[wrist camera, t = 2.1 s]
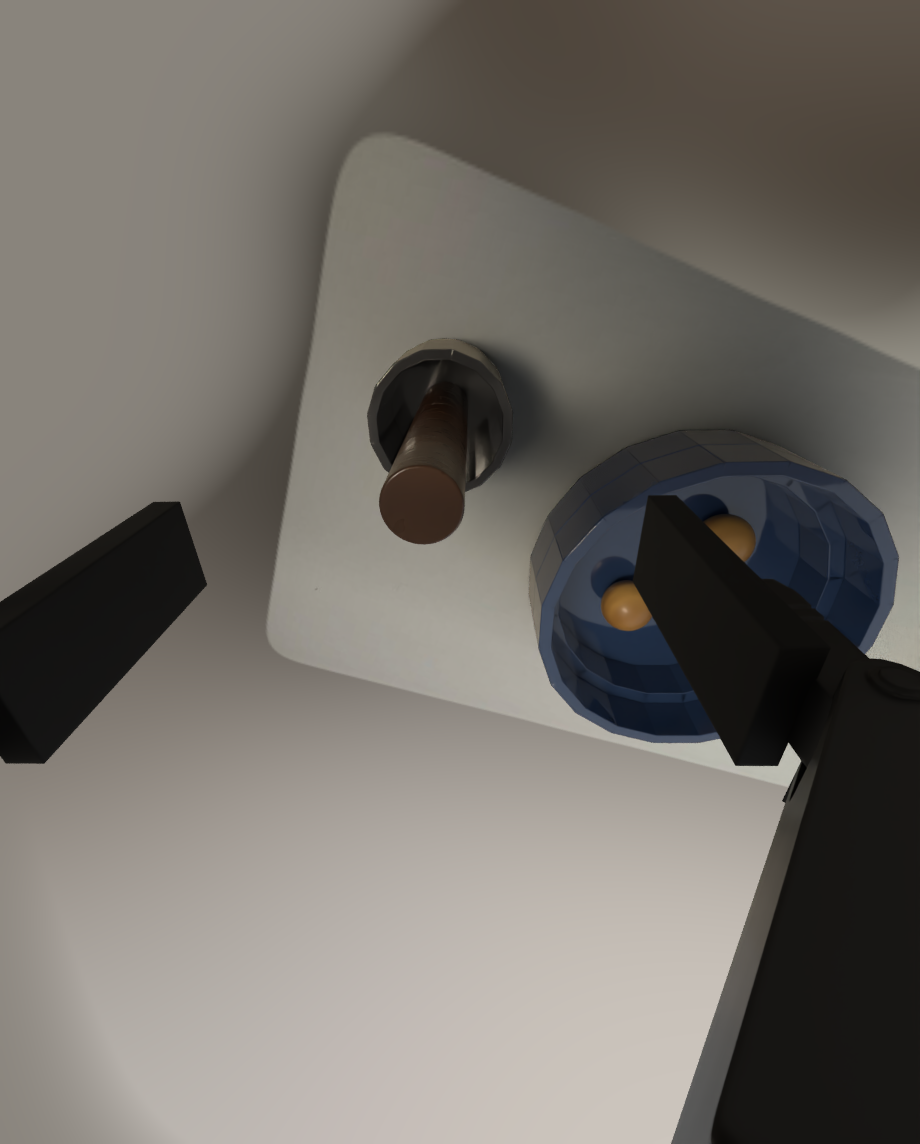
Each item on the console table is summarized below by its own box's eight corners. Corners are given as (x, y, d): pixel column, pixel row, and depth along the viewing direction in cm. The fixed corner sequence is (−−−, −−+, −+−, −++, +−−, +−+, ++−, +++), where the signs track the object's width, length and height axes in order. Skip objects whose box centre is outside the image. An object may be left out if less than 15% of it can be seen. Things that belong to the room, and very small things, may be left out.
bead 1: (599, 570, 35) (611, 598, 32) (649, 570, 35) (666, 597, 32) (593, 612, 37) (604, 641, 34) (640, 611, 37) (656, 641, 34)
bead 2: (690, 505, 32) (714, 528, 29) (745, 504, 32) (774, 527, 29) (679, 553, 34) (700, 579, 31) (731, 552, 34) (757, 579, 31)
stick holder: (380, 339, 28) (359, 350, 23) (507, 336, 28) (514, 347, 23) (391, 463, 32) (376, 496, 27) (504, 461, 32) (510, 495, 27)
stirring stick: (421, 382, 29) (374, 465, 15) (467, 381, 29) (463, 464, 15) (423, 429, 30) (383, 545, 17) (468, 428, 30) (465, 544, 17)
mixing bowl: (536, 430, 31) (552, 464, 25) (869, 424, 30) (969, 458, 24) (522, 676, 41) (531, 742, 35) (770, 675, 40) (822, 743, 34)
